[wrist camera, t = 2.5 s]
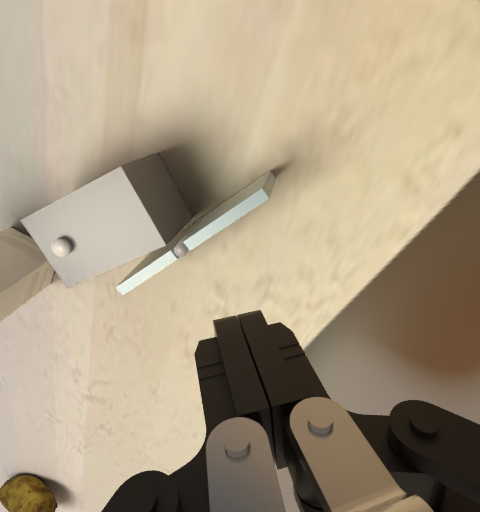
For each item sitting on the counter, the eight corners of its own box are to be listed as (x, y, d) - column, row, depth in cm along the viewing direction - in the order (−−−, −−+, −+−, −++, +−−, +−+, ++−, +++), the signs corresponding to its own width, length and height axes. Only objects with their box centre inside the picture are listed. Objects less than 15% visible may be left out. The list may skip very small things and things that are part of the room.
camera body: (158, 152, 44) (116, 167, 35) (192, 217, 47) (164, 249, 37) (59, 204, 49) (-2, 231, 40) (95, 261, 52) (47, 298, 42)
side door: (269, 169, 43) (261, 187, 34) (276, 179, 43) (269, 199, 34) (148, 253, 50) (115, 286, 41) (154, 261, 50) (123, 296, 41)
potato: (12, 459, 74) (-19, 498, 67) (70, 483, 75) (45, 524, 67) (9, 482, 78) (-21, 521, 71) (64, 505, 78) (40, 546, 71)
